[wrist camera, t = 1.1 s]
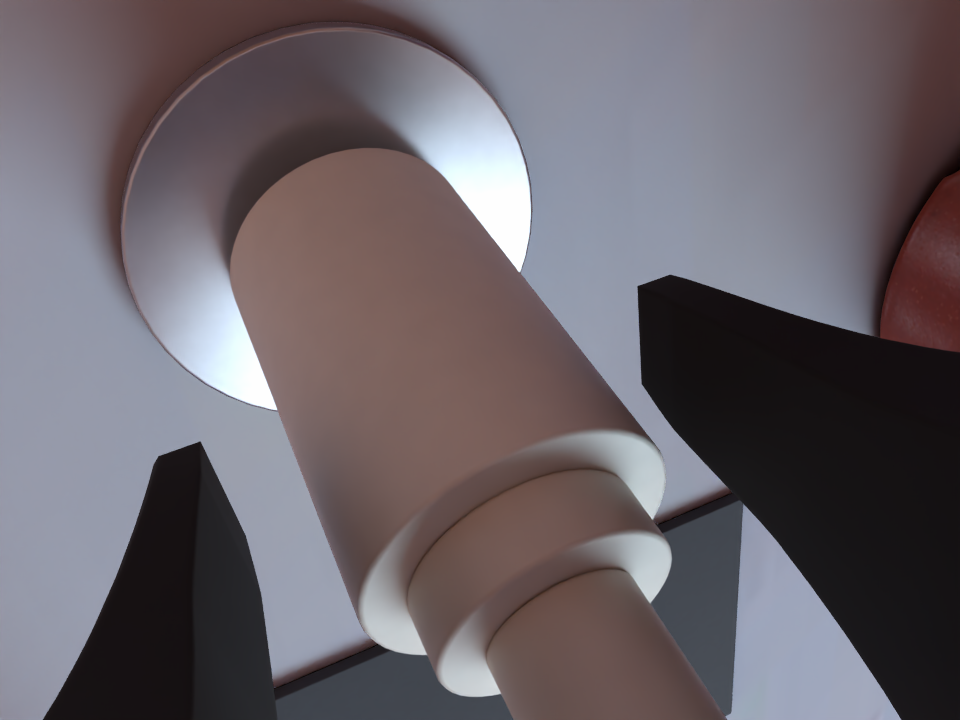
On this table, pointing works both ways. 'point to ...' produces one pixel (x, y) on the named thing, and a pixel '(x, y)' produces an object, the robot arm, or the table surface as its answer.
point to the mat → (448, 716)
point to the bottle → (460, 446)
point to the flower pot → (928, 276)
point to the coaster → (281, 149)
